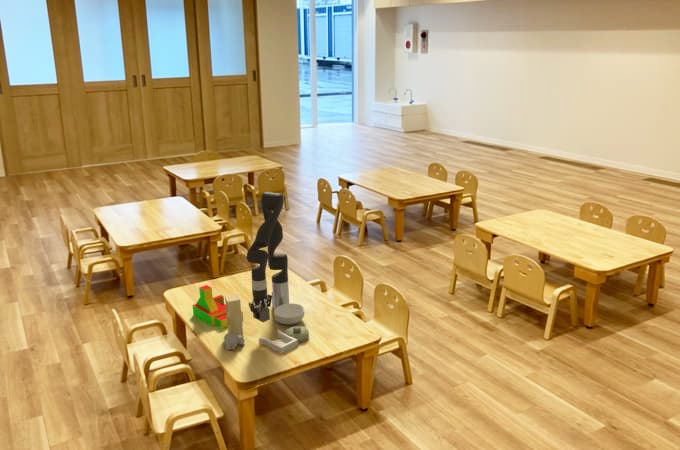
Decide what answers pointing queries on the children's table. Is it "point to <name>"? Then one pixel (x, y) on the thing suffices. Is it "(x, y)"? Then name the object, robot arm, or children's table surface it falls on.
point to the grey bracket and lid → (287, 339)
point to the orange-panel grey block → (263, 314)
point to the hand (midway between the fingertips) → (261, 316)
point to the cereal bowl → (289, 313)
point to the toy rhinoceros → (232, 340)
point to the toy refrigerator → (234, 314)
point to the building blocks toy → (211, 308)
